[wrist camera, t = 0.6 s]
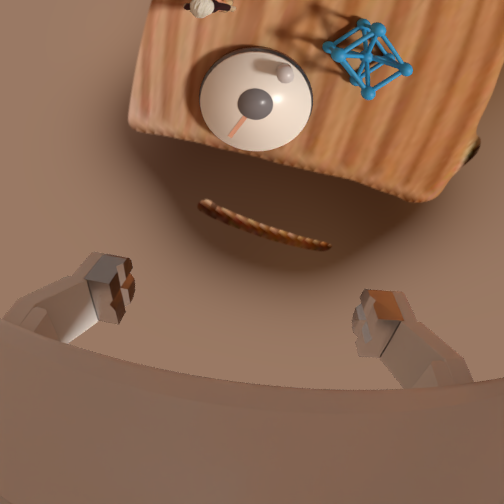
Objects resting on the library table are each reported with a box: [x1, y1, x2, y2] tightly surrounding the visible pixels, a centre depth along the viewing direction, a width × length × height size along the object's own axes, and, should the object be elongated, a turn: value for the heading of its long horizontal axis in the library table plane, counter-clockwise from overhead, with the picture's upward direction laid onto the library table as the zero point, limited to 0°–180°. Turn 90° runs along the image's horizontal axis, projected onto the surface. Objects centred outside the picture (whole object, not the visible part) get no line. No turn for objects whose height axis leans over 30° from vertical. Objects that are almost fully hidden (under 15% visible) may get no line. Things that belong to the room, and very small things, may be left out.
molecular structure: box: [322, 19, 413, 100], centre depth 38 cm, size 10×10×10 cm
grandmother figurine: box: [183, 0, 236, 18], centre depth 32 cm, size 8×4×13 cm, turn 93°
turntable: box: [200, 51, 311, 151], centre depth 46 cm, size 19×19×6 cm
